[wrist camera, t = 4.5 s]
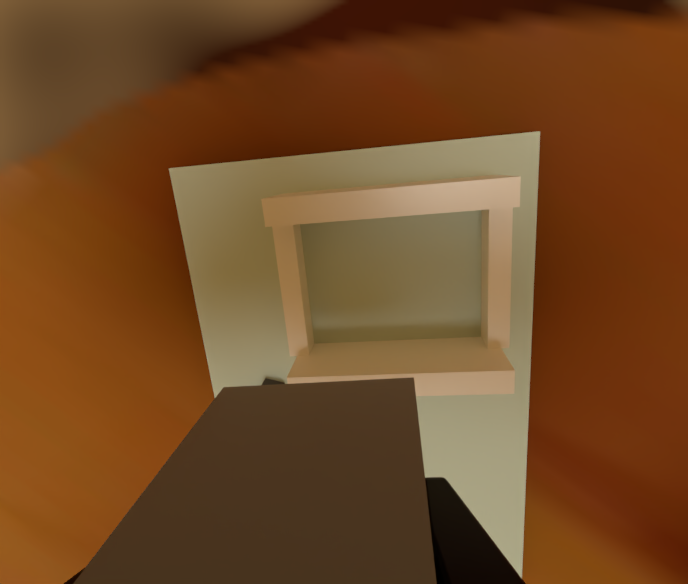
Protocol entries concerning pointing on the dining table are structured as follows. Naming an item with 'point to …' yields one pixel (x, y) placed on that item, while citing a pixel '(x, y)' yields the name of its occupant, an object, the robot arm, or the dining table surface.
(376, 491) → the block
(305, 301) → the holder
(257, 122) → the dining table surface
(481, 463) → the board
